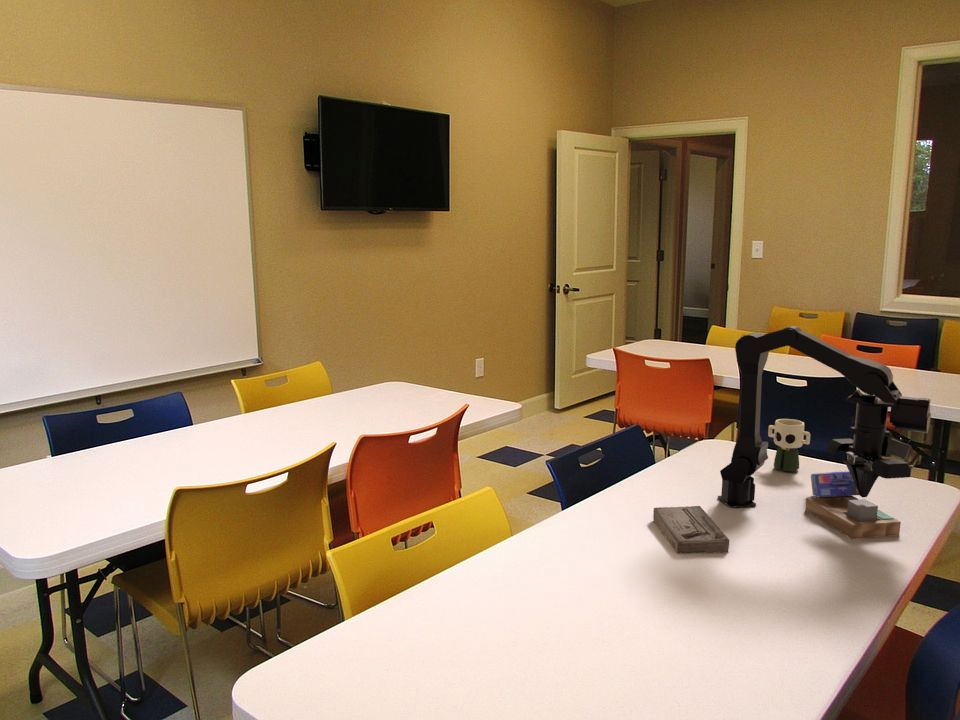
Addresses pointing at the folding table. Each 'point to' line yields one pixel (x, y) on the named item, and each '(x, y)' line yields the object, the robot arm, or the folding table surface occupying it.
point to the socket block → (836, 516)
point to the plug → (862, 510)
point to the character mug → (788, 442)
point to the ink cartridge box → (833, 484)
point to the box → (690, 530)
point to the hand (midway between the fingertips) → (863, 496)
